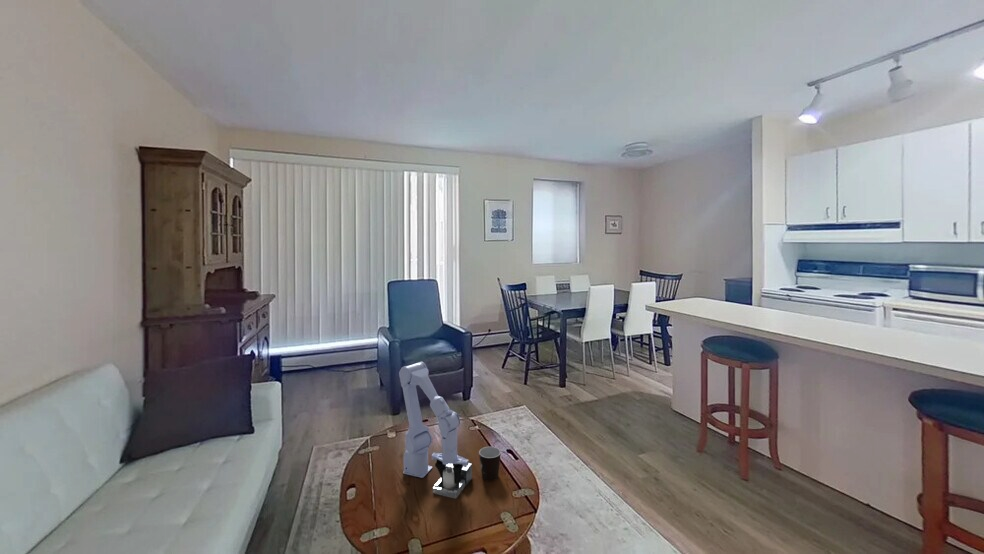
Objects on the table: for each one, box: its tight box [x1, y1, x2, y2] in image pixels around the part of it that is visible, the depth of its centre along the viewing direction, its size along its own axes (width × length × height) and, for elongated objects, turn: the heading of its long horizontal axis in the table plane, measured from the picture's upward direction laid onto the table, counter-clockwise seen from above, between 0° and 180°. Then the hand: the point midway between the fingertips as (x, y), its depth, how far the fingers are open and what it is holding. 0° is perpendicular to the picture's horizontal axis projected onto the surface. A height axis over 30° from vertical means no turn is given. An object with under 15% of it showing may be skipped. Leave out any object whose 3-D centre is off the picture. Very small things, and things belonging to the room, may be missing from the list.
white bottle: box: [442, 467, 457, 491], centre depth 147 cm, size 5×5×7 cm
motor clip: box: [432, 462, 473, 500], centre depth 149 cm, size 12×14×7 cm
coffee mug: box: [478, 446, 502, 482], centre depth 156 cm, size 12×9×10 cm
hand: (450, 480), depth 147 cm, fingers closed on white bottle, 5 cm apart
